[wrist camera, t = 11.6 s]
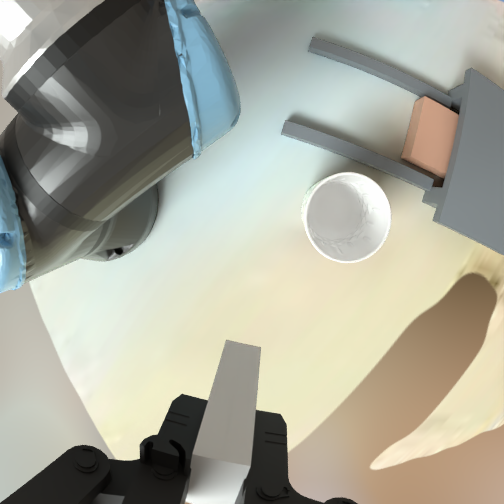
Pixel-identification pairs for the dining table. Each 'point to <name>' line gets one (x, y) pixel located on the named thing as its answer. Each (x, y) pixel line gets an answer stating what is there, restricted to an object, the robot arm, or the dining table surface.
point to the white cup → (346, 216)
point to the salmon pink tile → (430, 136)
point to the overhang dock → (462, 156)
